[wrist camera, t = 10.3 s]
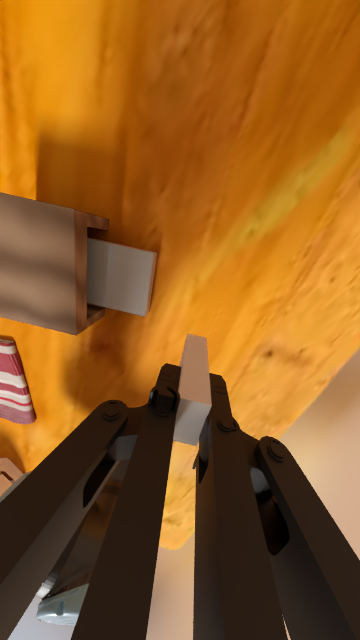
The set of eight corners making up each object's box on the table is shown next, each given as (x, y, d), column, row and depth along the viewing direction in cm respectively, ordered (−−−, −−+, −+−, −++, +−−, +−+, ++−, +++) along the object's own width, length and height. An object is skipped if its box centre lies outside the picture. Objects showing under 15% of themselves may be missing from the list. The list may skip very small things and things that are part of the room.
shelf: (104, 315, 33) (76, 335, 26) (44, 301, 34) (0, 316, 26) (108, 219, 27) (73, 209, 20) (35, 202, 28) (-26, 186, 20)
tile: (149, 310, 33) (144, 316, 30) (54, 288, 33) (40, 292, 30) (158, 252, 29) (153, 253, 26) (49, 228, 29) (33, 226, 26)
